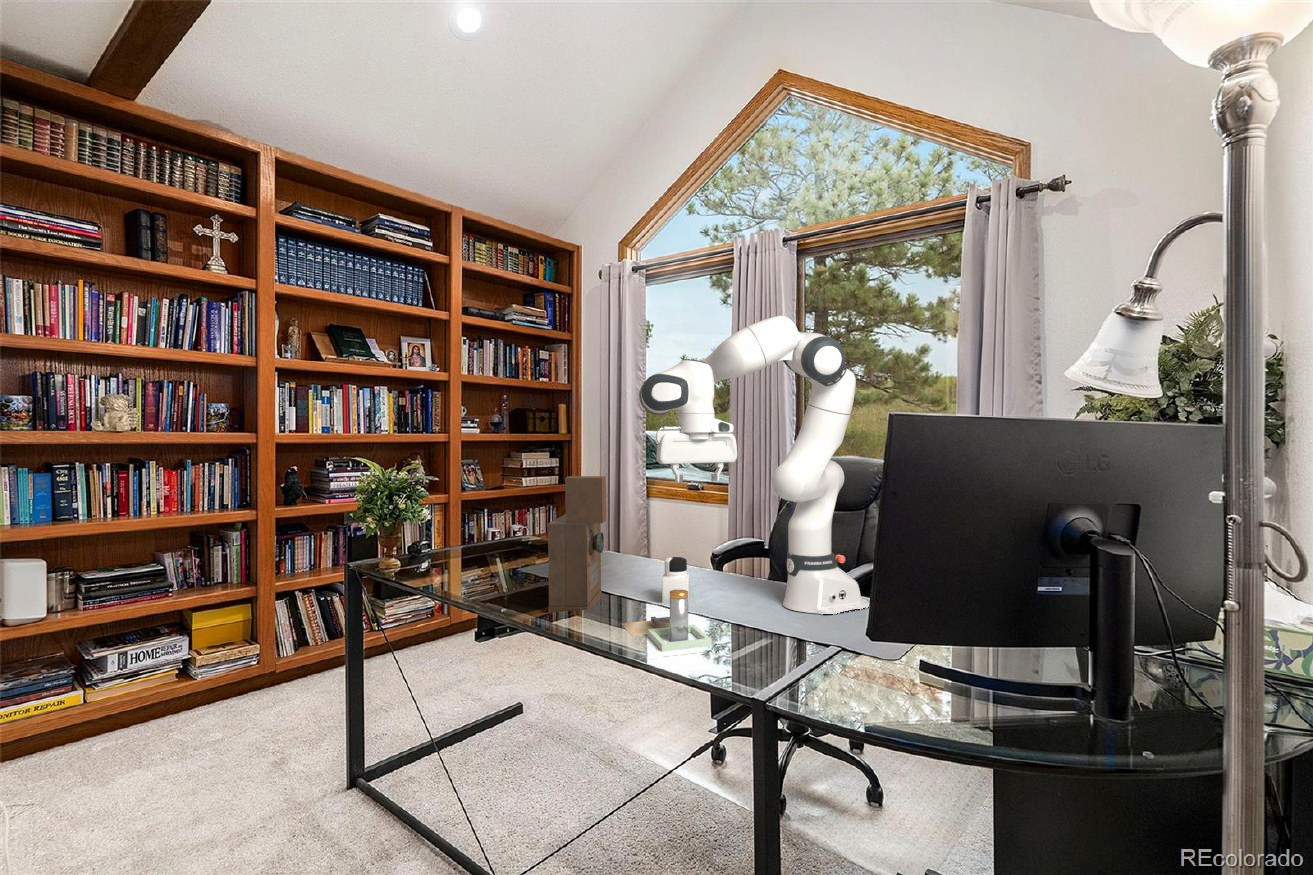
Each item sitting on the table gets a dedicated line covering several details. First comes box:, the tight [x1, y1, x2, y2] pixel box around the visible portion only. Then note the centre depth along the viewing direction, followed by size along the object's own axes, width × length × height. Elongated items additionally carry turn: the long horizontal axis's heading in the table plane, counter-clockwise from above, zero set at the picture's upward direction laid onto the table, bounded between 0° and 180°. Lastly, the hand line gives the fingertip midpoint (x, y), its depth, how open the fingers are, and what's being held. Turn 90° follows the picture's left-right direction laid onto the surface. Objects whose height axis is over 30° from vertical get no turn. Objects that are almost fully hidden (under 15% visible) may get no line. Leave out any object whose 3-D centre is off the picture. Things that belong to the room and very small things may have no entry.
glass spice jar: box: [669, 590, 689, 642], centre depth 143 cm, size 4×4×11 cm
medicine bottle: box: [661, 556, 691, 604], centre depth 180 cm, size 7×7×12 cm
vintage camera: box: [547, 475, 607, 614], centre depth 178 cm, size 19×14×35 cm
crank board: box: [620, 616, 670, 637], centre depth 154 cm, size 13×10×3 cm
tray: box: [647, 624, 713, 658], centre depth 143 cm, size 11×11×3 cm
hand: (697, 481), depth 163 cm, fingers open, 8 cm apart
